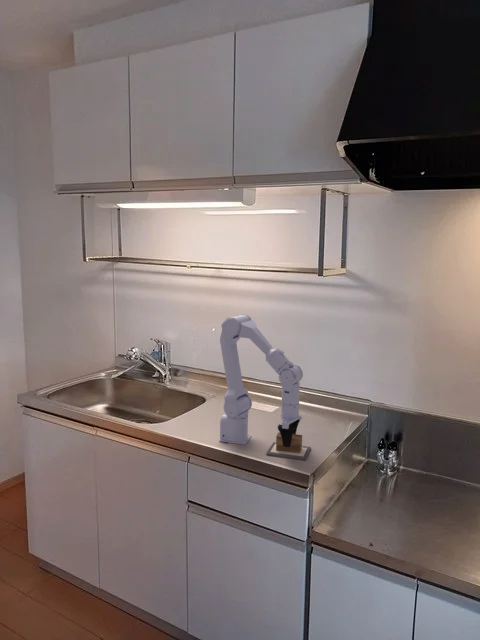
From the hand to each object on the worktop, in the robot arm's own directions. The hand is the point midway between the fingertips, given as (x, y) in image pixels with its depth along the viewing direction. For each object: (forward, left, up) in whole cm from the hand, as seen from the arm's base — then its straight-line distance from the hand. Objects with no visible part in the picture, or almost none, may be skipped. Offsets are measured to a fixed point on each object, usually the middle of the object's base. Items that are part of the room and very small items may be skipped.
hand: (289, 442), depth 171 cm
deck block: (0, 0, -3) cm, 3 cm away
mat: (0, 0, -3) cm, 3 cm away
